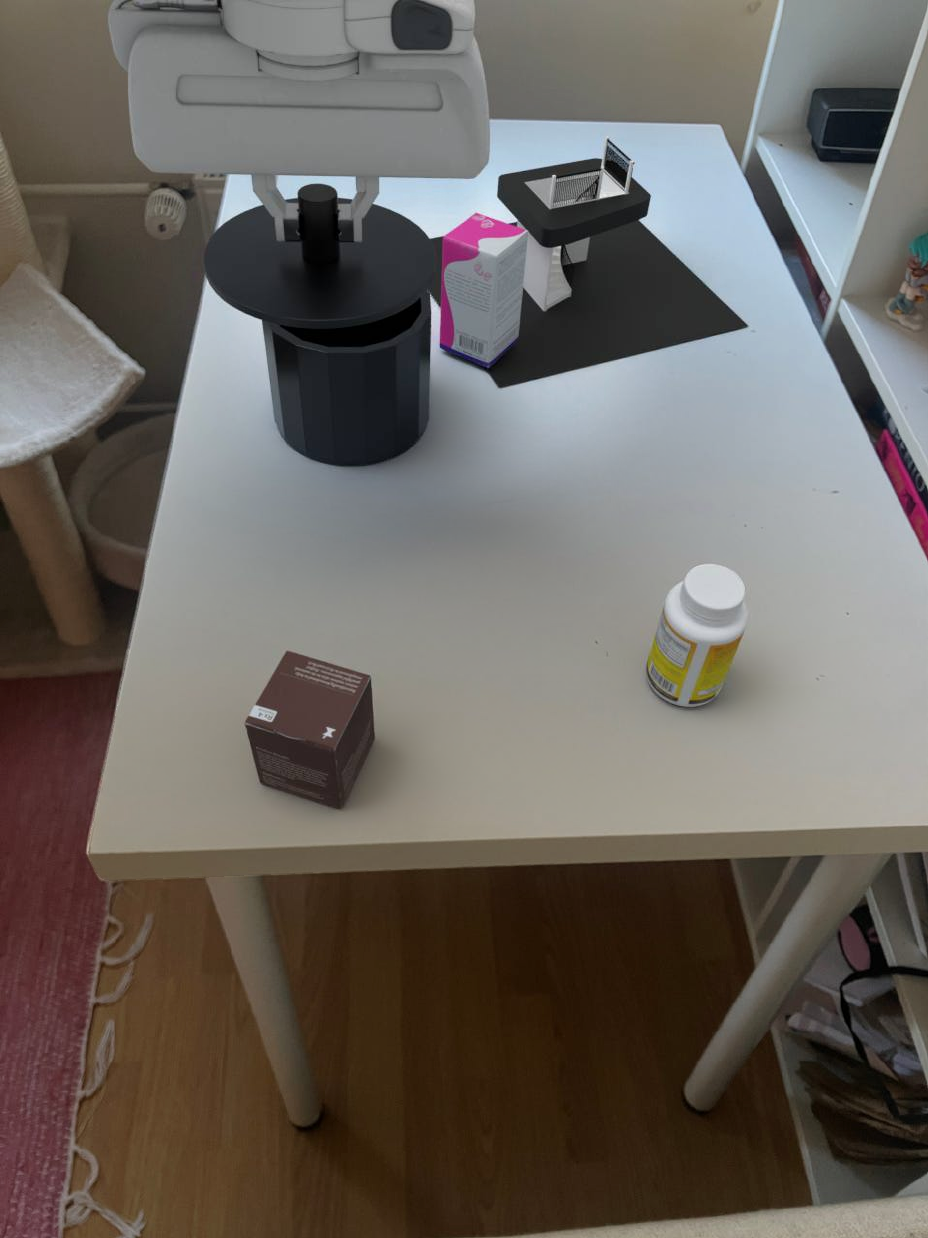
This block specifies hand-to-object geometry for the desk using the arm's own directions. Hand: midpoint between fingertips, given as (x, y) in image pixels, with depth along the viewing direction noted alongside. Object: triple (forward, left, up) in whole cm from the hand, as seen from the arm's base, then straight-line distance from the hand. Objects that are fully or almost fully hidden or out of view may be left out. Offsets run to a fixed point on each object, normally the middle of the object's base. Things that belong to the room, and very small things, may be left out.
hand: (320, 237), depth 63 cm
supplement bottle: (+25, -17, -25) cm, 39 cm away
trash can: (+1, +13, -25) cm, 28 cm away
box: (-1, -23, -25) cm, 34 cm away
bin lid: (0, 0, -2) cm, 2 cm away
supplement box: (+13, +23, -24) cm, 36 cm away
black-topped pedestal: (+23, +34, -25) cm, 48 cm away
